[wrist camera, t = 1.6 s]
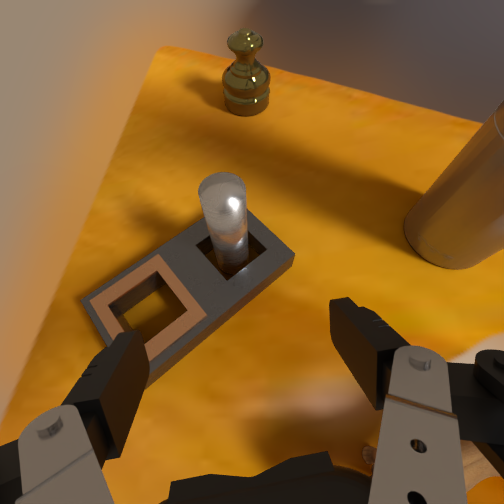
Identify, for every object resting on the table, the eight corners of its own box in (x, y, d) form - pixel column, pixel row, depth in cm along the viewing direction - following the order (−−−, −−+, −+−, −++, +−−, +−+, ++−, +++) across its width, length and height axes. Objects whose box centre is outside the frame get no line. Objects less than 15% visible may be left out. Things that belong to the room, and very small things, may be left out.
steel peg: (235, 240, 32) (225, 165, 22) (255, 261, 31) (255, 191, 20) (211, 258, 31) (188, 188, 21) (230, 280, 30) (217, 217, 19)
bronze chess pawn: (270, 90, 46) (274, 18, 37) (267, 118, 43) (270, 46, 34) (228, 88, 47) (221, 16, 38) (221, 116, 43) (212, 44, 34)
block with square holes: (235, 212, 34) (234, 195, 31) (291, 266, 31) (295, 252, 28) (96, 309, 29) (78, 299, 26) (145, 389, 25) (130, 388, 22)
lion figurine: (368, 554, 20) (444, 661, 12) (324, 474, 22) (363, 519, 14) (500, 433, 23) (628, 453, 15) (450, 374, 25) (539, 365, 17)
